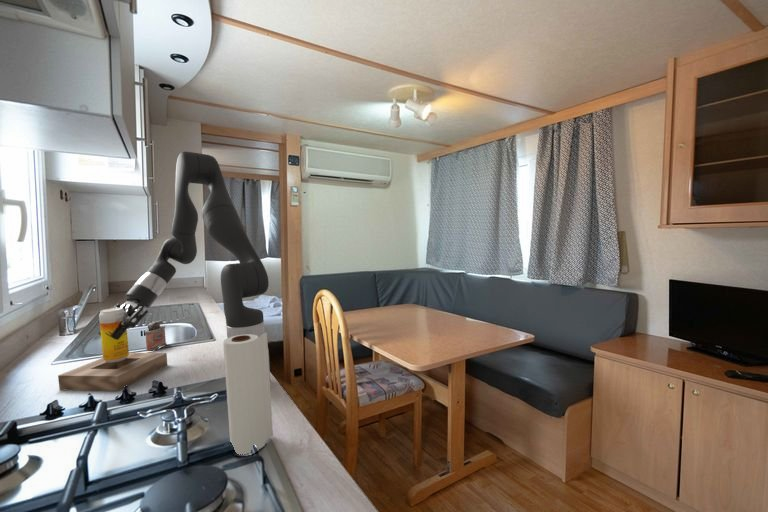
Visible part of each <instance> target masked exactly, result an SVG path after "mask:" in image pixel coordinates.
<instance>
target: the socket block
mask: <svg viewBox="0 0 768 512" xmlns="http://www.w3.org/2000/svg"><path fill="white" fill-rule="evenodd" d="M167 366H168V356H167V352H129V355H128V356H127V358H126V359H124V360H121V361H118V362H111V363H108V362H106V361H105V360H103V357H101V358H99V359H96V360H94V361H91V362H89V363H87V364H84V365H81V366H78V367H76V368H74V369H71V370H68V371H67V372H63V373H61V374H58V375H57V377H58V379H57V381H58V388H59V389H66V390H65V391H69V390H70V391H106V392H107V391H109V392H110V391H112V392H118V391H119V392H120V391H121V390H123V389H125V388H124V386H126V385H127V387H129V386H131V385H133V384H134V383H137V382H138V381H140V380H142V379H145V378H146V377H148V376H150V375H152V374H154V373H155V372H157V371H159V370H161V369H164V368H165V367H167Z"/></svg>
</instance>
